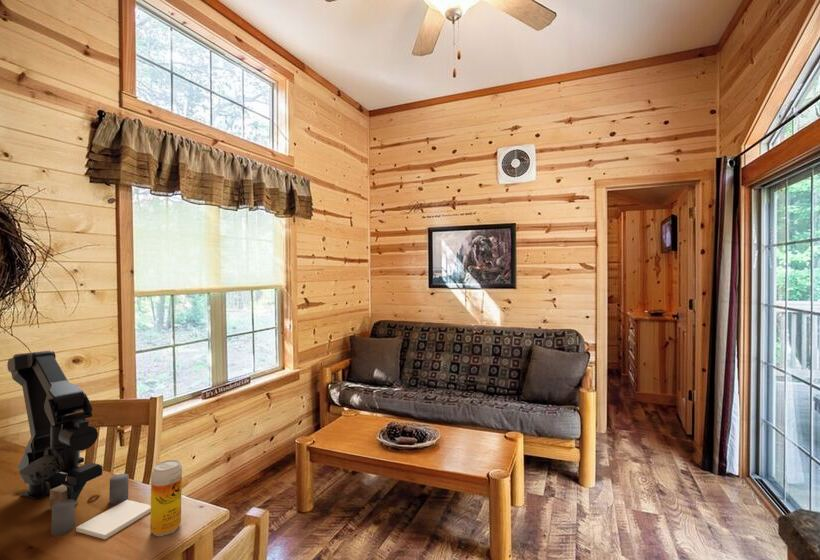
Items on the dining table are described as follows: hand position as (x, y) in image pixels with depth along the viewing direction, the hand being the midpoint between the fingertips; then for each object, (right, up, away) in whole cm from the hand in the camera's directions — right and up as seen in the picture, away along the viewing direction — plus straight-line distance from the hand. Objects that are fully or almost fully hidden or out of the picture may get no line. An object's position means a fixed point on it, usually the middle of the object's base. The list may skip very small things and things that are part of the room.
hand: (64, 502), depth 100 cm
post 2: (+11, -1, +3) cm, 12 cm away
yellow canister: (+31, -2, -8) cm, 32 cm away
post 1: (+8, -1, -9) cm, 12 cm away
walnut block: (0, -1, 0) cm, 1 cm away
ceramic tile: (+17, -1, -5) cm, 18 cm away
